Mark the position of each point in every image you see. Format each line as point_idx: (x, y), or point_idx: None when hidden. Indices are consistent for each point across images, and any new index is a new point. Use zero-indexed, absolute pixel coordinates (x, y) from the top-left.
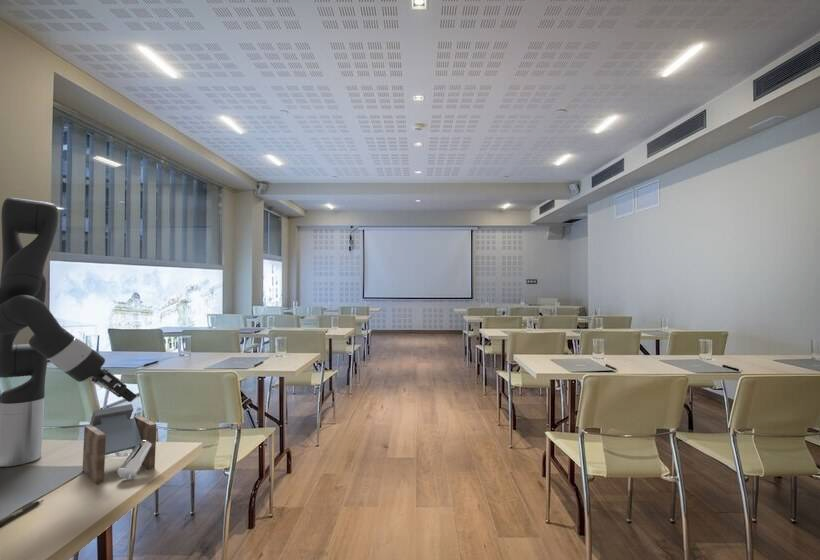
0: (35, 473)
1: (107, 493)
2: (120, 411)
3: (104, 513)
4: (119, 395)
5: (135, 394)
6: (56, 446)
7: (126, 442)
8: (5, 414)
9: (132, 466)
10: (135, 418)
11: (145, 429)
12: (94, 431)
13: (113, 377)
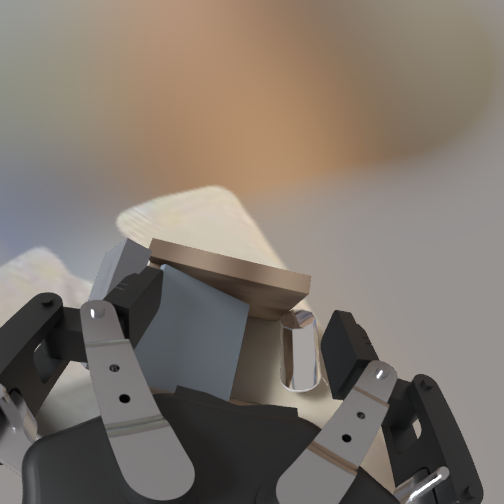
0: (75, 424)
1: (319, 419)
2: None
3: (384, 442)
4: (156, 305)
5: (351, 315)
6: None
7: (227, 335)
8: None
9: (320, 372)
10: (164, 260)
11: (261, 290)
12: None
13: (467, 462)
